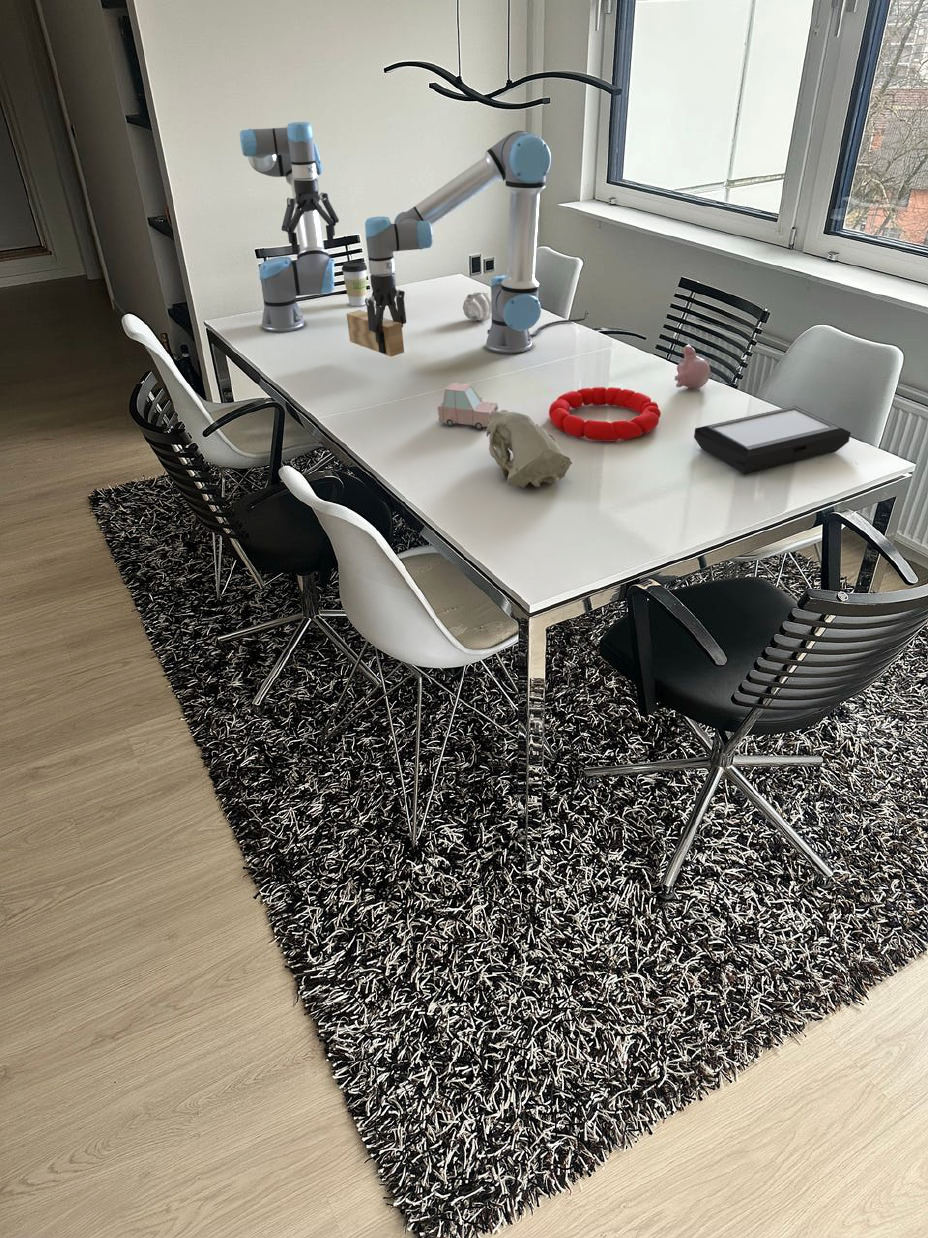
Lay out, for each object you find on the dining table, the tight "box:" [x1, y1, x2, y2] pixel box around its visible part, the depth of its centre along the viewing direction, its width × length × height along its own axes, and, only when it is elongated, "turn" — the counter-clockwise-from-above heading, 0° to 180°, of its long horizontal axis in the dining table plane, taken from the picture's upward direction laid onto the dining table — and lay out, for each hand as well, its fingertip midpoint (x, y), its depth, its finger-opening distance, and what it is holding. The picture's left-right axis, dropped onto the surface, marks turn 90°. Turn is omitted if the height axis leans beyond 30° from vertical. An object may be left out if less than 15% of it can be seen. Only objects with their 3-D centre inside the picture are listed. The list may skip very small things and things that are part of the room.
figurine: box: [674, 344, 711, 390], centre depth 259 cm, size 9×11×12 cm
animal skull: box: [485, 409, 573, 489], centre depth 216 cm, size 17×25×20 cm
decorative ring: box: [548, 386, 661, 442], centre depth 242 cm, size 7×30×30 cm
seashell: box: [462, 292, 492, 322], centre depth 323 cm, size 10×15×10 cm
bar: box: [346, 309, 405, 357], centre depth 282 cm, size 23×5×9 cm, turn 40°
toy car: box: [437, 382, 499, 431], centre depth 243 cm, size 9×15×10 cm, turn 70°
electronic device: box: [693, 405, 852, 475], centre depth 223 cm, size 32×6×20 cm
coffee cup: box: [341, 260, 368, 307], centre depth 344 cm, size 10×10×15 cm
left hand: (313, 250), depth 291 cm, fingers open, 13 cm apart
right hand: (390, 350), depth 280 cm, fingers closed on bar, 5 cm apart
